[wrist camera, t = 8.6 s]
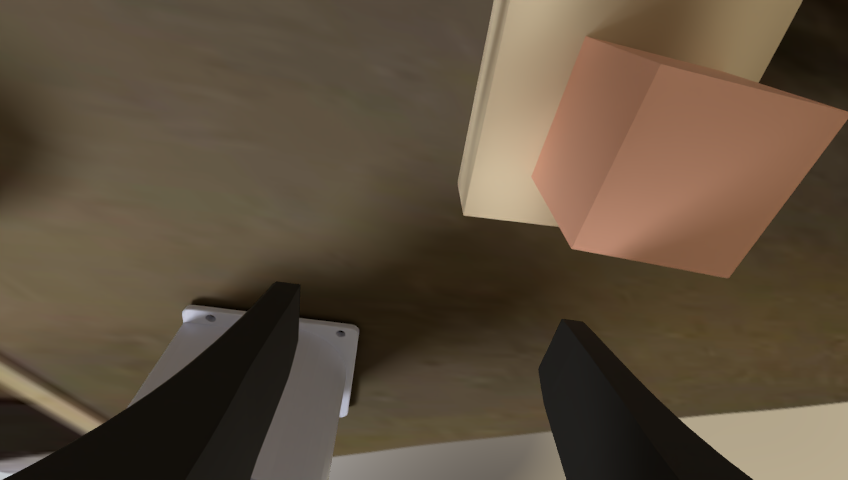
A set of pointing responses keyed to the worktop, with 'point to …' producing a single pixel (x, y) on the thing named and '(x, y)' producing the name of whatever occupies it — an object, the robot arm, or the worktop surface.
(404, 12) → the worktop surface
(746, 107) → the terracotta cube
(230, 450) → the robot arm
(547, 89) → the birch base block
